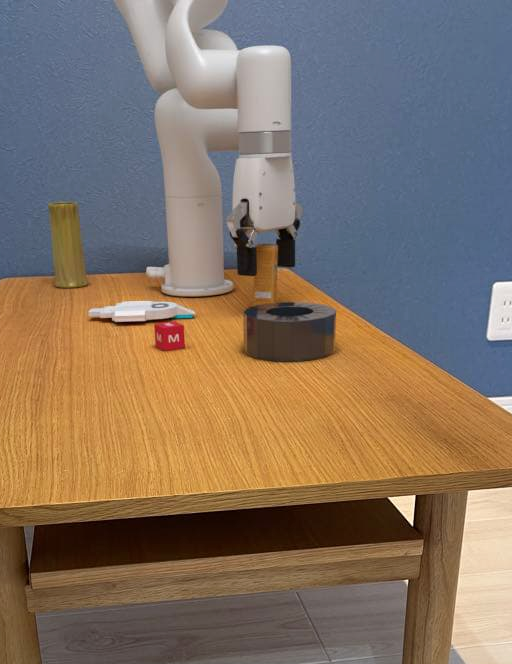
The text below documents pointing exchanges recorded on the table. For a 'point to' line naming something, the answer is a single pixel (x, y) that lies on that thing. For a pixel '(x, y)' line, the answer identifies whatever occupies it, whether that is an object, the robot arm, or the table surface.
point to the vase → (67, 245)
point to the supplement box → (265, 274)
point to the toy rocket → (142, 311)
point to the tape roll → (289, 331)
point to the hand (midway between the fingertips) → (267, 270)
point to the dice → (169, 335)
